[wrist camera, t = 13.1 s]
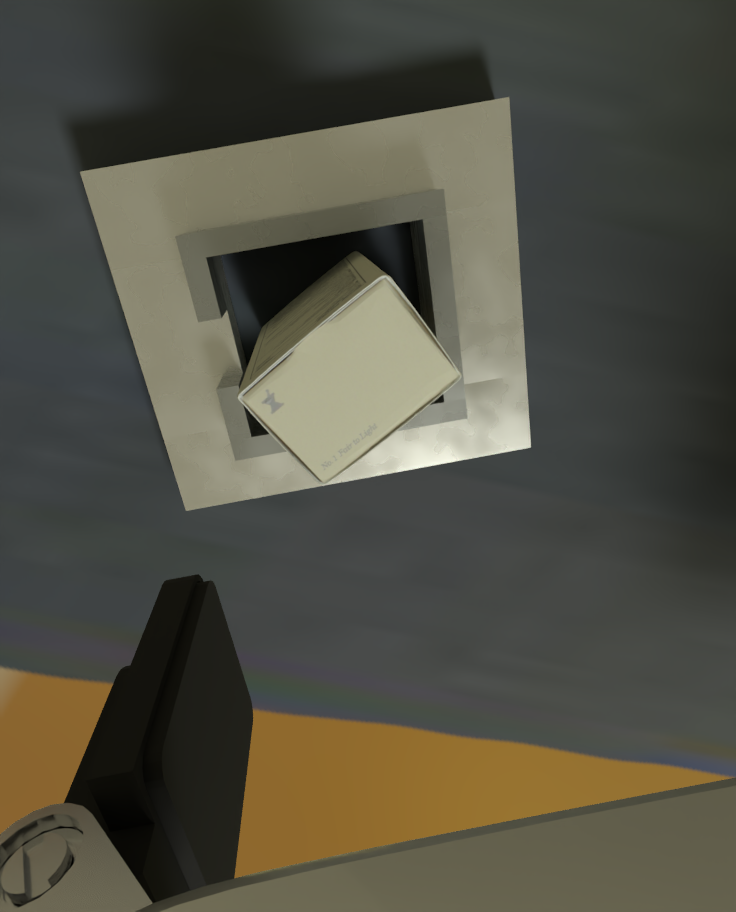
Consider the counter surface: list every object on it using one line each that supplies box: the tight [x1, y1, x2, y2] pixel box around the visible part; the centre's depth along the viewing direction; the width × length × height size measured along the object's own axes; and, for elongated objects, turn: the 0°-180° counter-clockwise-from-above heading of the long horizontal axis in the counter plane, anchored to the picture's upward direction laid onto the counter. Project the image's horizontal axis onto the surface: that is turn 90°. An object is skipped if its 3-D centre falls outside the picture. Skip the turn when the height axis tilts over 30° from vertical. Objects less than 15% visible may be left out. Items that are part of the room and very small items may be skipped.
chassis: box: [80, 97, 531, 511], centre depth 29 cm, size 16×18×4 cm
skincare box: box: [237, 251, 462, 485], centre depth 26 cm, size 6×4×12 cm
